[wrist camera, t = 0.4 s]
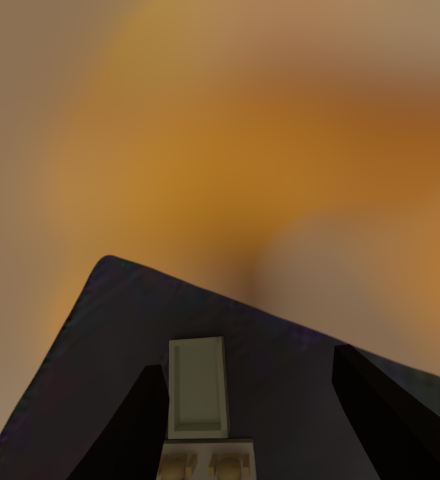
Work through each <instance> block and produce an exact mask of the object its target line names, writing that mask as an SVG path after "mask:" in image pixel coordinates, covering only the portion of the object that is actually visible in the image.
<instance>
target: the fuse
mask: <svg viewBox="0 0 440 480" xmlns="http://www.w3.org/2000/svg"><path fill="white" fill-rule="evenodd" d="M217 479H218V480H241V464H240V461H239V460H238V459H236V458H224V459H222V460H220V461H219V462H218V463H217Z"/></svg>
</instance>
